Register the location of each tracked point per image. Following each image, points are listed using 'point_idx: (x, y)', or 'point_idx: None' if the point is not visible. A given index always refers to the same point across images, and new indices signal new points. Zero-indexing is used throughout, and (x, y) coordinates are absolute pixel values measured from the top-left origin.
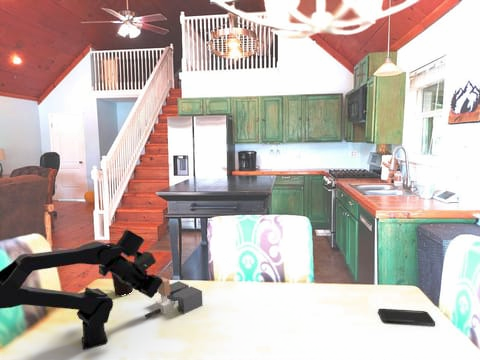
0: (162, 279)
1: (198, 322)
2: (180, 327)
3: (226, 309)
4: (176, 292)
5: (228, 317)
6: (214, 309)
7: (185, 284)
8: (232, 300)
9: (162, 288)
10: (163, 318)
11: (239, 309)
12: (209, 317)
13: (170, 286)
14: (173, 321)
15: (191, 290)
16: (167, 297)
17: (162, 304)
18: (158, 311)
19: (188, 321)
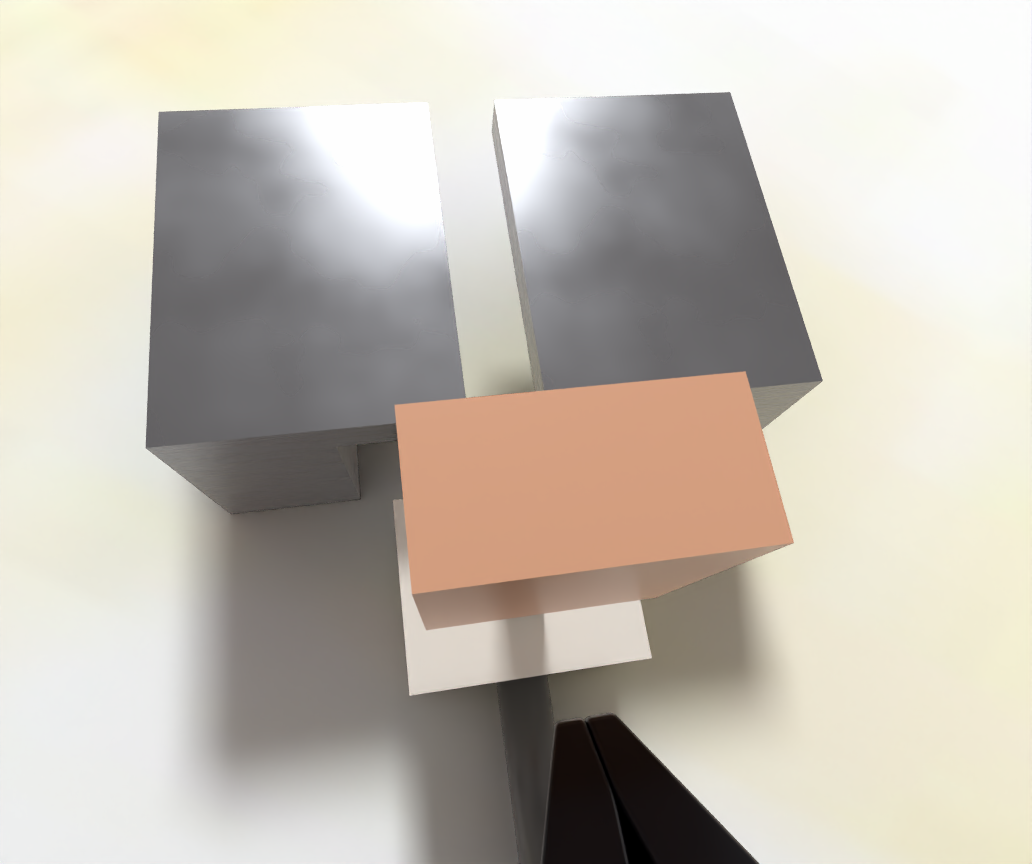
0: (563, 490)
1: (979, 442)
2: (992, 643)
3: (872, 132)
4: (547, 347)
5: (1017, 203)
6: (813, 197)
7: (367, 115)
8: (743, 8)
9: (617, 589)
10: (684, 706)
11: (929, 68)
12: (936, 314)
13: (246, 299)
14: (824, 641)
15: (631, 169)
16: (346, 450)
17: (600, 653)
18: (551, 712)
19: (910, 508)
